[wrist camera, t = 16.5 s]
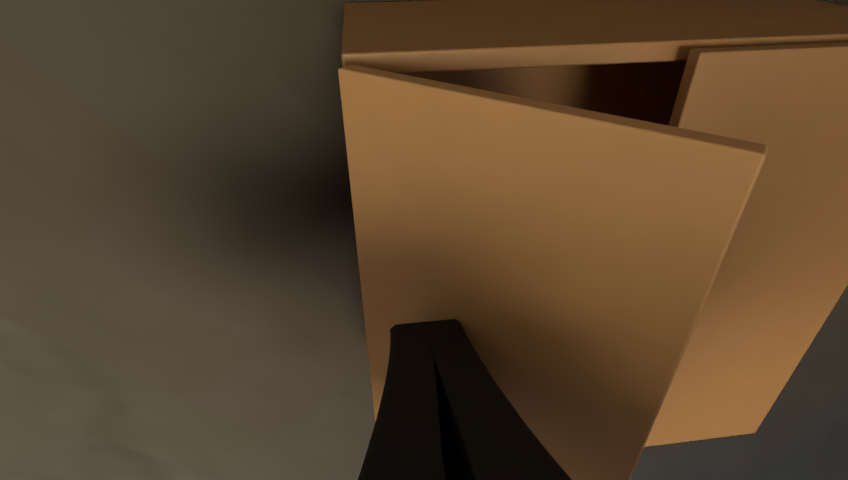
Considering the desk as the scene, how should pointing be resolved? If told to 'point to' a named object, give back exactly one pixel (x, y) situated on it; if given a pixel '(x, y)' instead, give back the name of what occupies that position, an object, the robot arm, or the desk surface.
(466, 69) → the carton
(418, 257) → the flap
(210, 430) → the desk surface
